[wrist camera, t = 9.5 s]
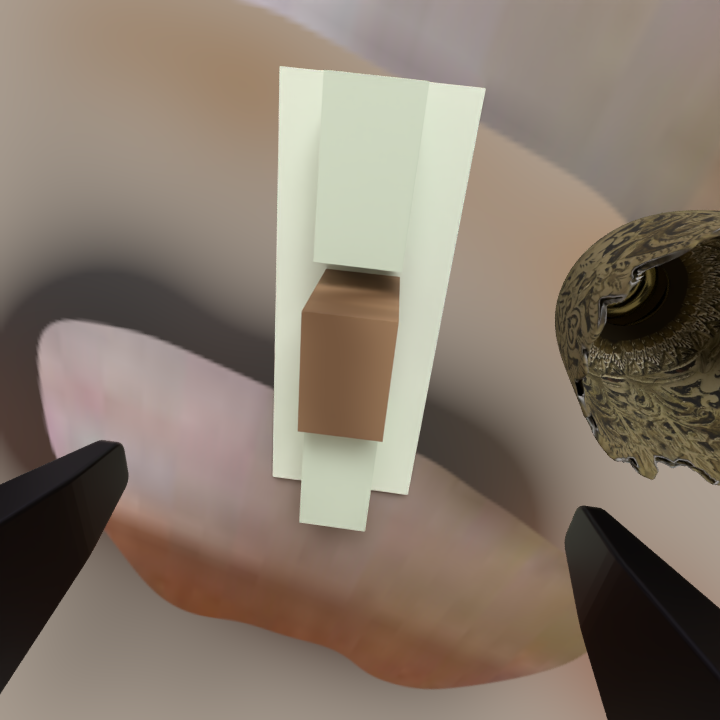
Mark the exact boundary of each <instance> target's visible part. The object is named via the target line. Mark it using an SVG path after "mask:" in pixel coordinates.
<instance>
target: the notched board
mask: <svg viewBox="0 0 720 720" xmlns="http://www.w3.org/2000/svg"><path fill="white" fill-rule="evenodd" d="M279 81H280V82H279V140H278V197H277V198H278V199H277V202H278V203H277V204H278V205H277V256H276V257H277V258H276V259H277V260H276V316H275V373H274V375H275V376H274V432H273V477H280V478H287V479H295V480H302V482H301V500H300V519H299V522H300V523H308V524H315V525H322V526H329V527H336V528H343V529H351V530H358V531H365V527H366V520H367V513H368V506H369V499H370V492H371V490H375V491H383V492H390V493H397V494H405V495H408V490H409V485H410V480H411V475H412V469H413V464H414V459H415V454H416V448H417V443H418V438H419V433H420V428H421V422H422V417H423V412H424V407H425V401H426V396H427V391H428V386H429V381H430V376H431V370H432V365H433V360H434V355H435V349H436V344H437V339H438V334H439V329H440V324H441V318H442V312H443V308H444V302H445V297H446V292H447V287H448V282H449V276H450V272H451V266H452V261H453V256H454V251H455V245H456V240H457V235H458V230H459V224H460V220H461V214H462V209H463V204H464V199H465V193H466V187H467V183H468V178H469V173H470V168H471V162H472V157H473V152H474V147H475V141H476V136H477V131H478V126H479V121H480V115H481V110H482V105H483V100H484V95H485V89H486V88H478V87H469V86H459V85H450V84H441V83H431V82H430V81H424V80H414V79H405V78H396V77H386V76H377V75H368V74H358V73H349V72H340V71H339V72H338V71H330V70H324V71H319V70H310V69H301V68H291V67H282V66H280V80H279ZM326 269H334V270H343V271H352V272H361V273H370V274H379V275H388V276H397V277H400V294H399V325H398V332H397V339H396V347H395V354H394V361H393V369H392V376H391V383H390V391H389V398H388V406H387V413H386V420H385V428H384V435H383V442H379V441H370V440H362V439H354V438H346V437H338V436H330V435H322V434H314V433H306V432H298V403H299V373H300V343H301V312H302V310H303V308H304V306H305V304H306V303H307V301H308V299H309V297H310V296H311V294H312V292H313V291H314V289H315V287H316V285H317V284H318V282H319V280H320V278H321V277H322V275H323V273H324V272H325V270H326Z"/></svg>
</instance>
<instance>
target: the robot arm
mask: <svg viewBox="0 0 720 720" xmlns="http://www.w3.org/2000/svg"><path fill="white" fill-rule="evenodd" d="M127 482H128V468H127V462H126V457H125V451H124V447H123V445H122V444H121V443H119V442H114V441H106V440H100V441H97V442H94V443H92V444H90V445H88V446H85V447H83V448H81V449H79V450H76V451H74V452H72V453H70V454H67V455H65V456H63V457H61V458H58V459H56V460H54V461H52V462H50V463H47V464H45V465H43V466H41V467H38V468H36V469H34V470H32V471H29V472H27V473H25V474H23V475H20V476H18V477H16V478H14V479H12V480H9V481H7V482H5V483H2V484H0V694H1V692H2V690H3V689H4V687H5V686H6V684H7V683H8V681H9V680H10V678H11V677H12V675H13V674H14V672H15V670H16V669H17V667H18V666H19V664H20V663H21V661H22V660H23V658H24V657H25V655H26V654H27V652H28V651H29V649H30V647H31V646H32V644H33V643H34V641H35V640H36V638H37V637H38V635H39V634H40V632H41V631H42V629H43V628H44V626H45V624H46V623H47V621H48V620H49V618H50V617H51V615H52V614H53V612H54V611H55V609H56V608H57V606H58V605H59V603H60V601H61V600H62V598H63V597H64V595H65V594H66V592H67V591H68V589H69V588H70V586H71V585H72V583H73V581H74V580H75V578H76V577H77V575H78V574H79V572H80V571H81V569H82V568H83V566H84V564H85V563H86V561H87V560H88V558H89V556H90V555H91V553H92V551H93V549H94V547H95V546H96V544H97V542H98V540H99V538H100V536H101V534H102V532H103V530H104V528H105V526H106V524H107V523H108V521H109V519H110V517H111V515H112V513H113V511H114V509H115V507H116V505H117V503H118V501H119V499H120V497H121V495H122V493H123V492H124V490H125V488H126V485H127ZM565 551H566V557H567V562H568V567H569V573H570V578H571V583H572V588H573V594H574V599H575V604H576V609H577V615H578V619H579V624H580V628H581V632H582V636H583V639H584V643H585V646H586V649H587V653H588V656H589V659H590V663H591V666H592V669H593V672H594V676H595V679H596V682H597V686H598V689H599V692H600V696H601V699H602V703H603V706H604V709H605V712H606V716H607V719H608V720H720V608H719V607H717V606H716V605H715V604H714V603H713V602H712V601H710V600H709V599H708V598H707V597H706V596H704V595H703V594H702V593H701V592H700V591H699V590H697V589H696V588H695V587H694V586H693V585H692V584H690V583H689V582H688V581H687V580H686V579H685V578H683V577H682V576H681V575H680V574H679V573H677V572H676V571H675V570H674V569H673V568H672V567H671V566H669V565H668V564H667V563H666V562H665V561H664V560H662V559H661V558H660V557H659V556H658V555H657V554H655V553H654V552H653V551H652V550H651V549H649V548H648V547H647V546H646V545H644V543H642V542H641V541H640V540H639V539H638V538H637V537H635V536H634V535H633V534H632V533H631V532H629V531H628V530H627V529H626V528H625V527H624V526H622V525H621V524H620V523H619V522H618V521H617V520H616V519H614V518H613V517H612V516H611V515H610V514H608V513H607V512H606V511H605V510H603V509H601V508H597V507H590V506H580V507H578V508H577V510H576V512H575V514H574V516H573V519H572V521H571V523H570V526H569V528H568V531H567V533H566V536H565Z"/></svg>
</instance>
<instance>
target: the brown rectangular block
mask: <svg viewBox="0 0 720 720" xmlns="http://www.w3.org/2000/svg"><path fill="white" fill-rule="evenodd" d="M399 294H400V277H397V276H388V275H379V274H370V273H361V272H352V271H343V270H334V269H326V270H325V272H324V273H323V275H322V277H321V278H320V280H319V282H318V284H317V285H316V287H315V289H314V291H313V292H312V294H311V296H310V297H309V299H308V301H307V303H306V304H305V306H304V308H303V310H302V312H301V343H300V373H299V403H298V432H306V433H314V434H322V435H330V436H338V437H346V438H354V439H362V440H370V441H379V442H383V435H384V428H385V420H386V413H387V406H388V398H389V391H390V383H391V376H392V369H393V361H394V354H395V347H396V339H397V332H398V325H399Z"/></svg>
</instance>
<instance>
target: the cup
mask: <svg viewBox="0 0 720 720" xmlns="http://www.w3.org/2000/svg"><path fill="white" fill-rule="evenodd" d="M555 329H556V337H557V341H558V346H559V351H560V354H561V357H562V360H563V363H564V365H565V368H566V371H567V374H568V376H569V379H570V381H571V384H572V386H573V389H574V391H575V394H576V396H577V399H578V401H579V404H580V406H581V409H582V412H583V415H584V417H585V418H586V420H587V422H588V423H589V425H590V427H591V430H592V433H593V435H594V436H595V438H596V440H597V441H598V443H599V444H600V446H601V447H602V448H603V450H604V451H605V452H606V453H607V455H608V456H609V457H610V458H612V459H613V460H614V461H622V462H623V463H624V462H626V463H630V464H631V465H632V467H633V468H634V469H635V471H636V472H638V473H639V474H640V475H642V476H644V477H646V478H649V479H652V480H653V479H654V478H655V477H656V474H657V473H658V471H659V469H658V467H657V463H658V462H662V463H664V464H666V465H668V466H669V467H671V468H675V467H678V466H688V467H689V468H690V469H692V470H693V471H696V472H697V473H699V474H700V475H701V476H702V477H703V478H704V479H705V480H706V481H708V482H709V483H711V484H713V485H720V210H686V211H675V212H667V213H661V214H657V215H652V216H648V217H644V218H641V219H638V220H635V221H632V222H630V223H627V224H625V225H623V226H621V227H619V228H617V229H615V230H613V231H612V232H610V233H609V234H607V235H605V236H604V237H603V238H601V239H600V240H598V241H597V242H596V243H595V244H594V245H592V246H591V247H590V248H589V249H588V250H587V251H586V252H585V253H584V254H583V255H582V256H581V257H580V258H579V259H578V261H577V262H576V263H575V265H574V266H573V267H572V269H571V270H570V272H569V274H568V275H567V277H566V279H565V281H564V283H563V286H562V288H561V290H560V293H559V296H558V300H557V305H556V311H555ZM655 461H656V462H655Z"/></svg>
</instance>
